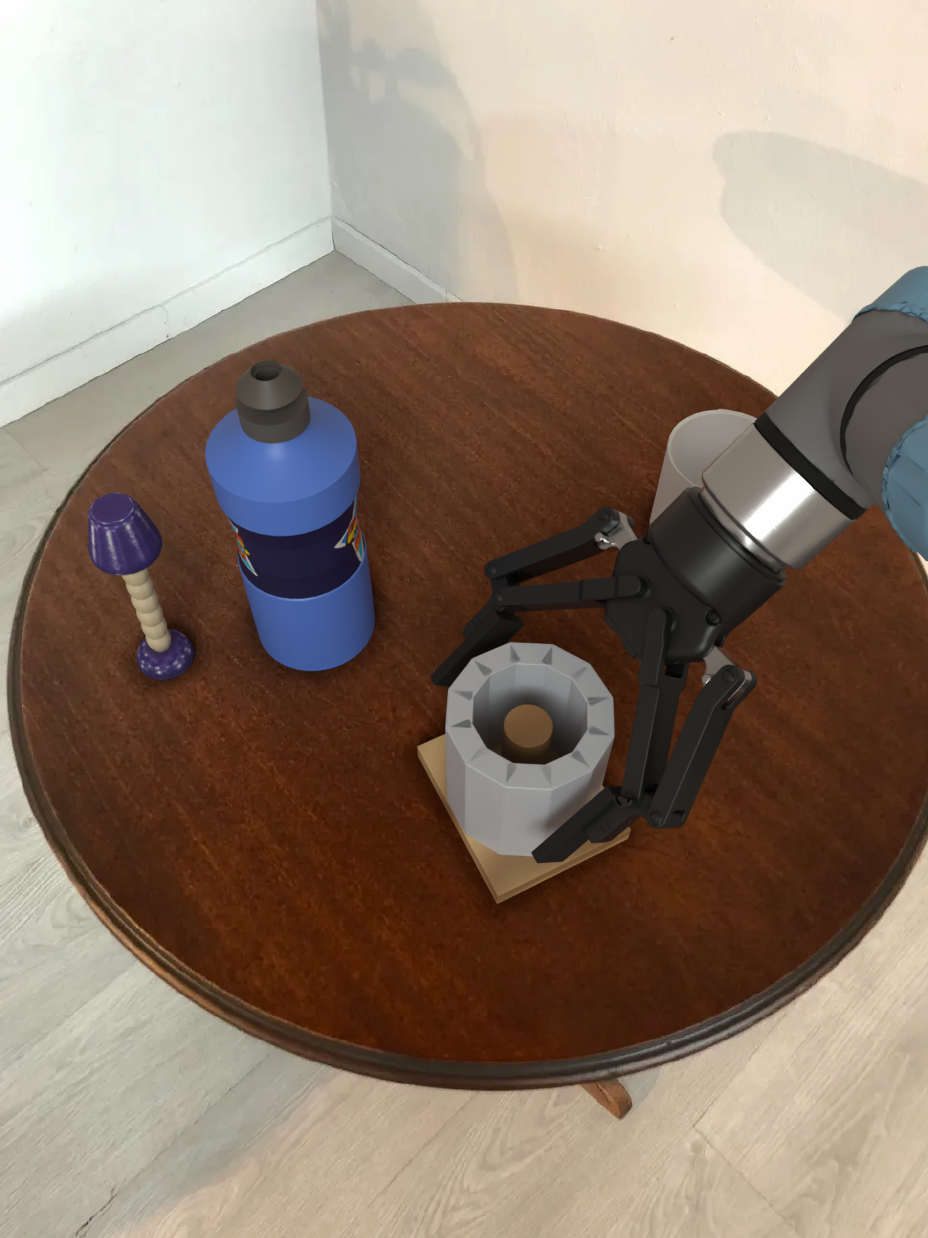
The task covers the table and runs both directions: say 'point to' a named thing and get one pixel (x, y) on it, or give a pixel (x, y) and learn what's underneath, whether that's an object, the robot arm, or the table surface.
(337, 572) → the water bottle
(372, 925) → the table surface
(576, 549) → the robot arm
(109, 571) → the toy lamp
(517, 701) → the silver tape
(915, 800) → the table surface
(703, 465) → the mug
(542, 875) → the stand
